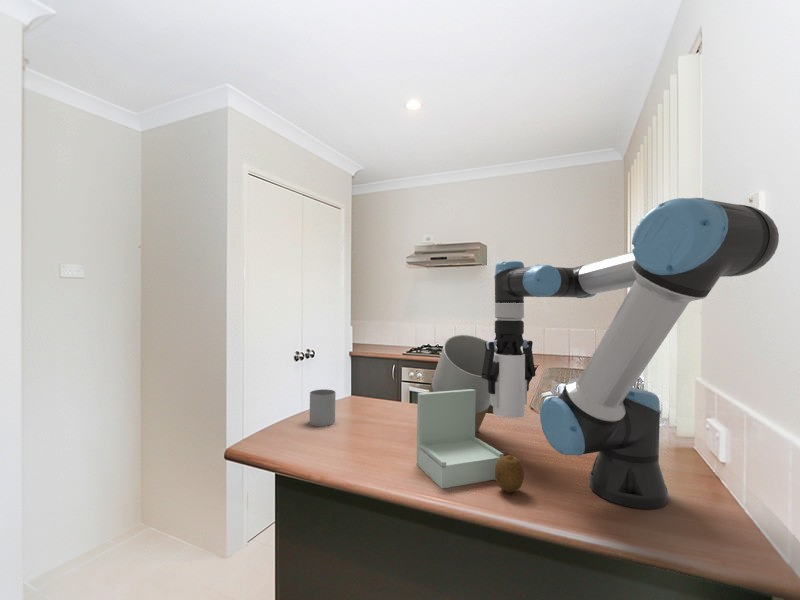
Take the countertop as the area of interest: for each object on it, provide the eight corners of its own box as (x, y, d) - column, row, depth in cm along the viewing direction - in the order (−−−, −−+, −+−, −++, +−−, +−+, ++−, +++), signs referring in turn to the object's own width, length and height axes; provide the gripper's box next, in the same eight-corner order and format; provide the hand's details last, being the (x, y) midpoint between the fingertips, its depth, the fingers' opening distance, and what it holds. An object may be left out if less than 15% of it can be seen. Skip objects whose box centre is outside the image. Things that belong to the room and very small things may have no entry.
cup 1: (308, 419, 140) (309, 390, 140) (332, 417, 143) (333, 388, 143) (310, 427, 132) (311, 395, 132) (336, 425, 135) (337, 394, 135)
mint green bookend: (502, 478, 97) (504, 401, 97) (441, 488, 91) (443, 407, 91) (471, 456, 110) (472, 389, 110) (416, 464, 104) (417, 393, 104)
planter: (436, 386, 144) (457, 327, 130) (486, 412, 138) (513, 353, 125) (413, 420, 129) (433, 356, 115) (468, 450, 123) (496, 387, 110)
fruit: (488, 491, 91) (489, 454, 90) (504, 482, 95) (504, 447, 95) (514, 501, 86) (515, 463, 86) (529, 491, 90) (529, 455, 90)
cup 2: (526, 418, 105) (526, 355, 105) (493, 416, 107) (493, 354, 107) (523, 410, 113) (523, 352, 113) (492, 408, 115) (492, 351, 115)
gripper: (531, 318, 118) (531, 398, 117) (467, 319, 110) (467, 404, 110) (550, 319, 111) (550, 404, 110) (483, 320, 103) (482, 411, 103)
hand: (508, 404), depth 110 cm, fingers closed on cup 2, 8 cm apart
